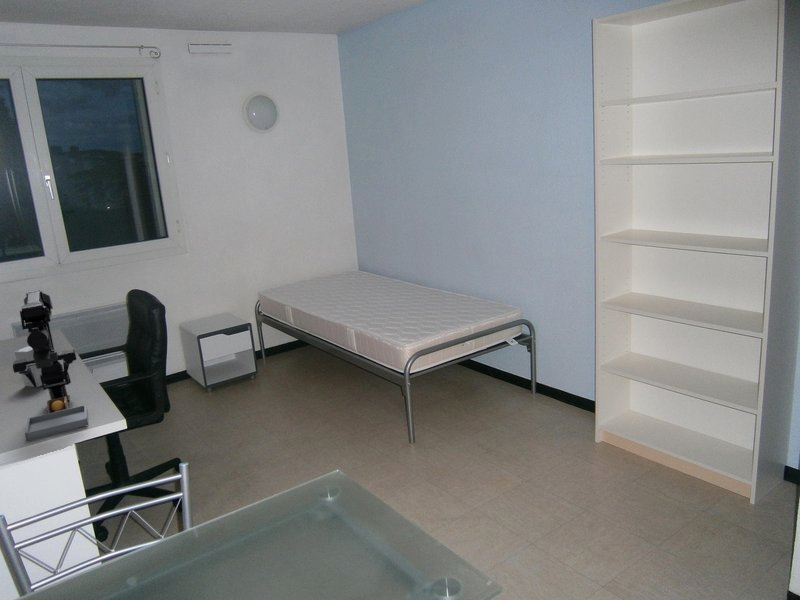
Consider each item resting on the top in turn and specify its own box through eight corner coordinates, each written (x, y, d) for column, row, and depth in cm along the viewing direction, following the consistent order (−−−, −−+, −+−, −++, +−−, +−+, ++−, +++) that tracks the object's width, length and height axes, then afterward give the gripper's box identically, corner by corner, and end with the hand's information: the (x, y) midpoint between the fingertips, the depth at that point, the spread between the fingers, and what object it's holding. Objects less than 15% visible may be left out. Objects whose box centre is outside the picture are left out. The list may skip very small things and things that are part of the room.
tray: (29, 424, 211) (27, 418, 210) (87, 411, 218) (86, 404, 218) (26, 440, 197) (24, 433, 197) (88, 425, 205) (86, 418, 205)
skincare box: (51, 382, 255) (43, 345, 251) (35, 388, 248) (26, 351, 245) (38, 380, 258) (29, 344, 255) (22, 387, 252) (13, 350, 248)
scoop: (50, 412, 221) (47, 400, 220) (68, 407, 223) (66, 396, 222) (49, 418, 214) (46, 406, 213) (68, 414, 217) (65, 402, 216)
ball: (52, 410, 220) (50, 400, 219) (65, 407, 222) (62, 397, 221) (52, 414, 217) (50, 404, 215) (65, 411, 218) (62, 401, 217)
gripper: (6, 353, 196) (18, 398, 200) (71, 341, 204) (81, 384, 208) (9, 344, 206) (20, 387, 210) (71, 332, 214) (80, 374, 218)
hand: (50, 383), depth 211 cm, fingers open, 9 cm apart
